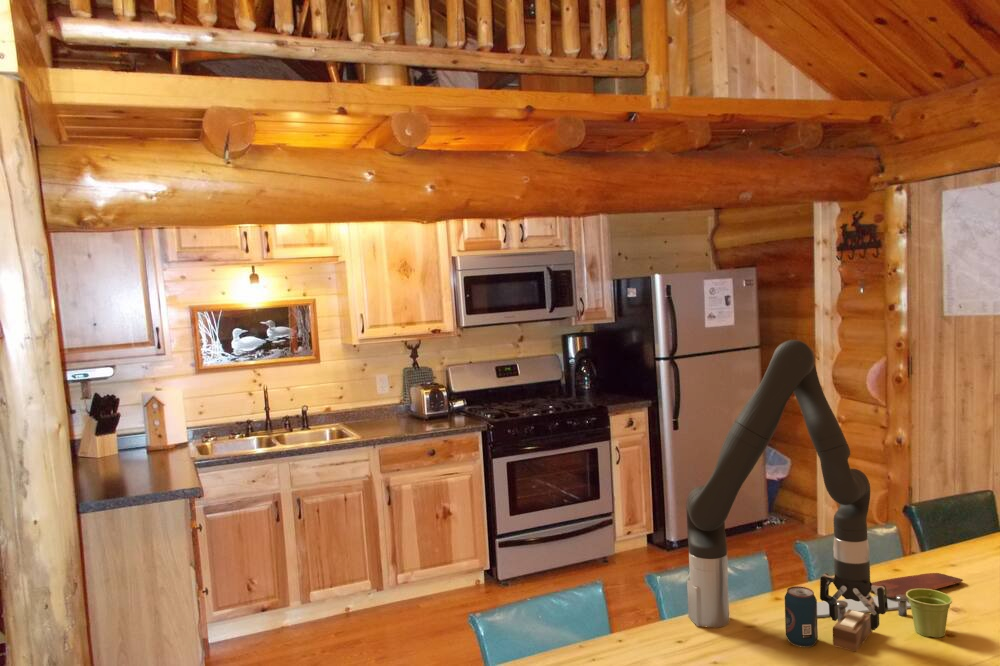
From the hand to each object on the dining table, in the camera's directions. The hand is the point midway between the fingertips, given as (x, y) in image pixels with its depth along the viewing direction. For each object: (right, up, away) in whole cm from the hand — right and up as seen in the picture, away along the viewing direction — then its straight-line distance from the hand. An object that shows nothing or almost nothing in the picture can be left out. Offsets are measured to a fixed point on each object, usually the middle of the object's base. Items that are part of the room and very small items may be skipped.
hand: (854, 624), depth 172 cm
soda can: (-12, -4, -1) cm, 13 cm away
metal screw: (+1, -3, +8) cm, 9 cm away
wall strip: (+8, -2, +16) cm, 18 cm away
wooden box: (0, -4, 0) cm, 3 cm away
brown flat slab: (+29, 0, +25) cm, 38 cm away
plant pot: (+18, -3, +1) cm, 18 cm away
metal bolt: (+17, -2, +10) cm, 20 cm away
